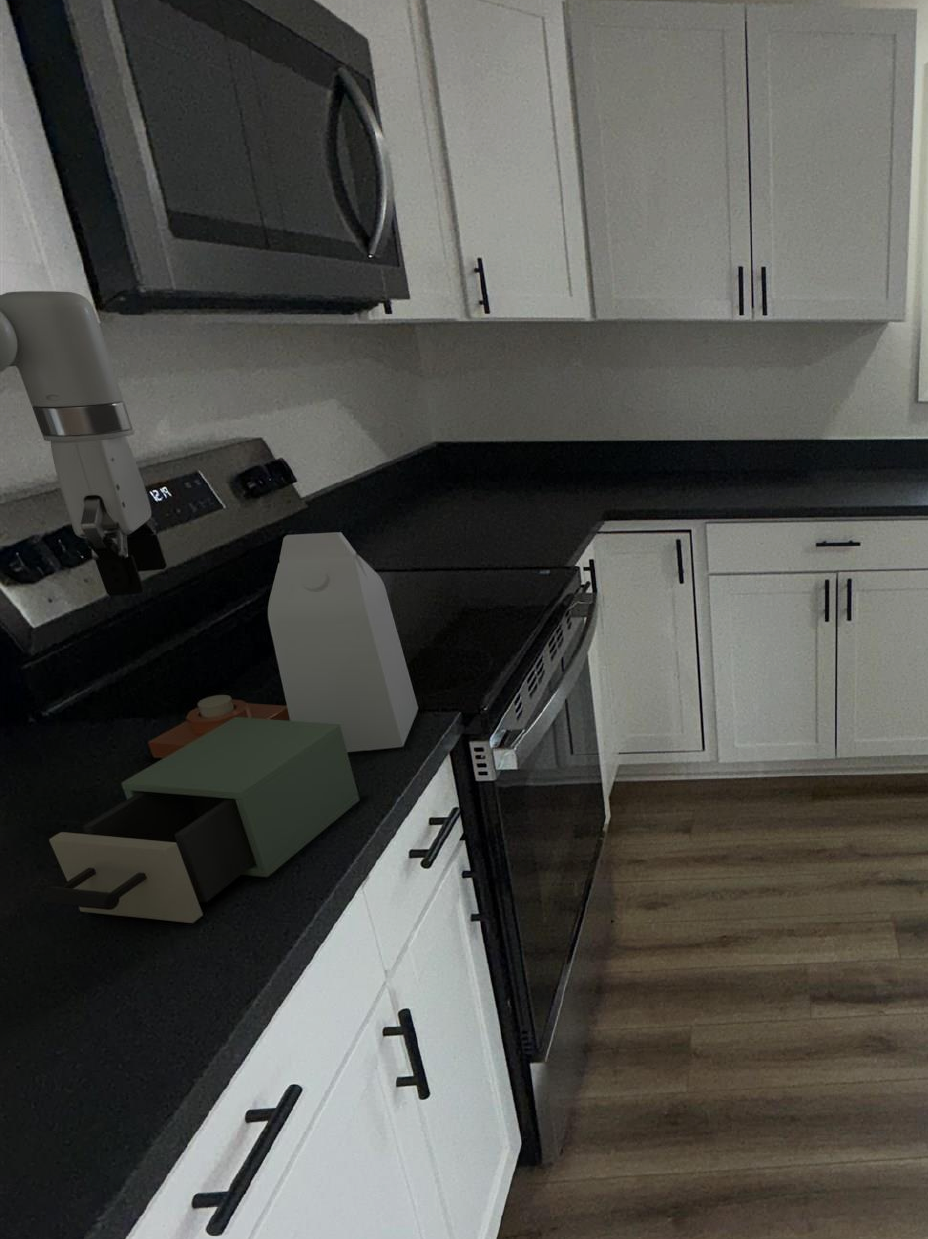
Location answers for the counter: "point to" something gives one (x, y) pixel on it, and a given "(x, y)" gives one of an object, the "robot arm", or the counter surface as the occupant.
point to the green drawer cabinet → (263, 781)
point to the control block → (211, 725)
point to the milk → (339, 643)
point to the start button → (215, 706)
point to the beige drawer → (153, 857)
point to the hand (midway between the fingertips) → (139, 581)
